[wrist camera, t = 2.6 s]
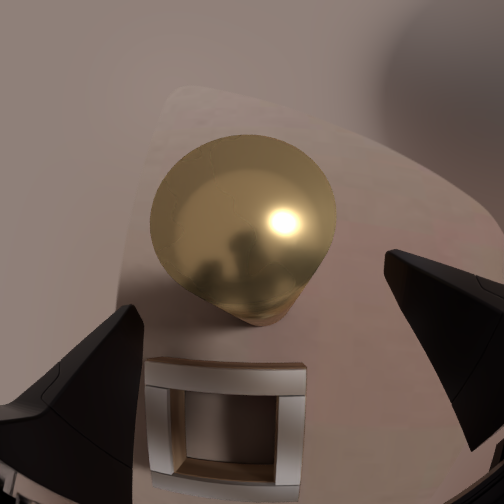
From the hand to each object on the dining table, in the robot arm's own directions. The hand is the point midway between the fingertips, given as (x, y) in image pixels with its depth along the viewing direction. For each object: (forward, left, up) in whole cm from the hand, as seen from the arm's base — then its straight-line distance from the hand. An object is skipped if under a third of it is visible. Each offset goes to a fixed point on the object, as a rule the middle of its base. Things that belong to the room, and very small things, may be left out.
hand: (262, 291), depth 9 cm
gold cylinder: (+1, 0, -9) cm, 9 cm away
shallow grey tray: (-8, +2, -9) cm, 12 cm away
